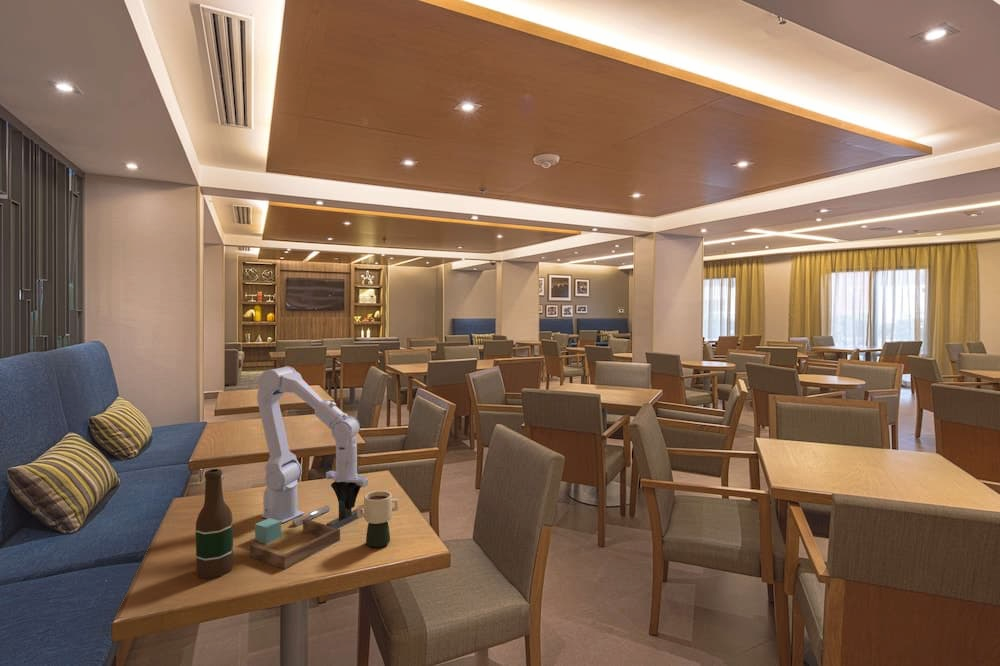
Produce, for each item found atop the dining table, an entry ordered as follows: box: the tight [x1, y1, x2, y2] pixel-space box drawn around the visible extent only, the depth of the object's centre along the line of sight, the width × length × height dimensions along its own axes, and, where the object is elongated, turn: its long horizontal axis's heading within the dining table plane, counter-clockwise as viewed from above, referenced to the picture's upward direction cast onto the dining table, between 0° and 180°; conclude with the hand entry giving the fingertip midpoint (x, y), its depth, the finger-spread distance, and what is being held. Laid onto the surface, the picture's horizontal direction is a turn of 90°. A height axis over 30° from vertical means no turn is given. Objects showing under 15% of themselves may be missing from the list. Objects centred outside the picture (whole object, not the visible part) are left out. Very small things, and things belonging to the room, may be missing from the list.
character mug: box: [356, 490, 399, 548], centre depth 134 cm, size 11×7×13 cm, turn 119°
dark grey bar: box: [326, 497, 364, 529], centre depth 147 cm, size 2×12×7 cm, turn 152°
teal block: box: [254, 518, 282, 545], centre depth 137 cm, size 4×4×4 cm
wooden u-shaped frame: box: [249, 519, 341, 570], centre depth 132 cm, size 13×17×3 cm
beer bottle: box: [195, 468, 234, 580], centre depth 119 cm, size 8×8×24 cm
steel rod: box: [292, 504, 331, 527], centre depth 150 cm, size 12×2×2 cm, turn 152°
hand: (346, 506), depth 147 cm, fingers closed on dark grey bar, 2 cm apart
